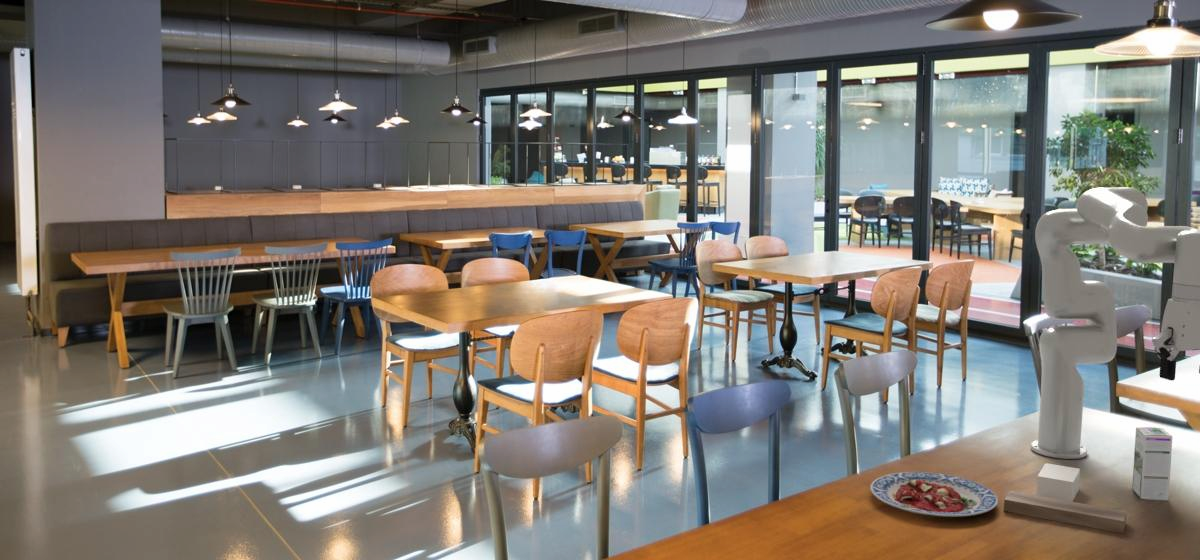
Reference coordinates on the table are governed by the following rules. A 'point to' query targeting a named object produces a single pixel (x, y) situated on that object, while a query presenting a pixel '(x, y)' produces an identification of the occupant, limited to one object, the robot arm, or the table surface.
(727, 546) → the table surface
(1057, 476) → the block
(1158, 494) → the syrup box
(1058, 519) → the plank
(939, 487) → the ceramic plate
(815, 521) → the table surface
